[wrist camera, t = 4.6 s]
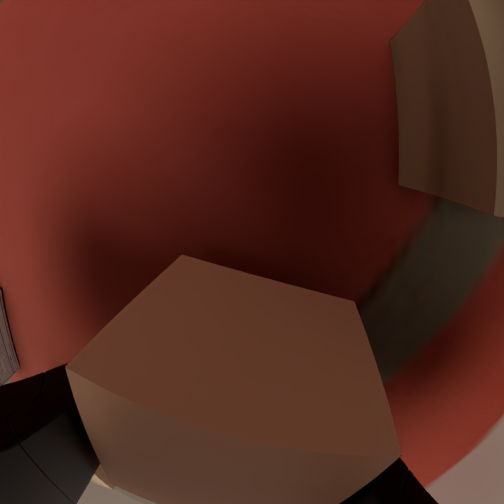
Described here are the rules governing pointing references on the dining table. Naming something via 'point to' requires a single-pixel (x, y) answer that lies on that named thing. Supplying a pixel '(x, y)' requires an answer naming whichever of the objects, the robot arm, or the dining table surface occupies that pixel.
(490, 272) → the dining table surface
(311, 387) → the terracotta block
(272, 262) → the dining table surface
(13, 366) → the medicine box
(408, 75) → the walnut block
